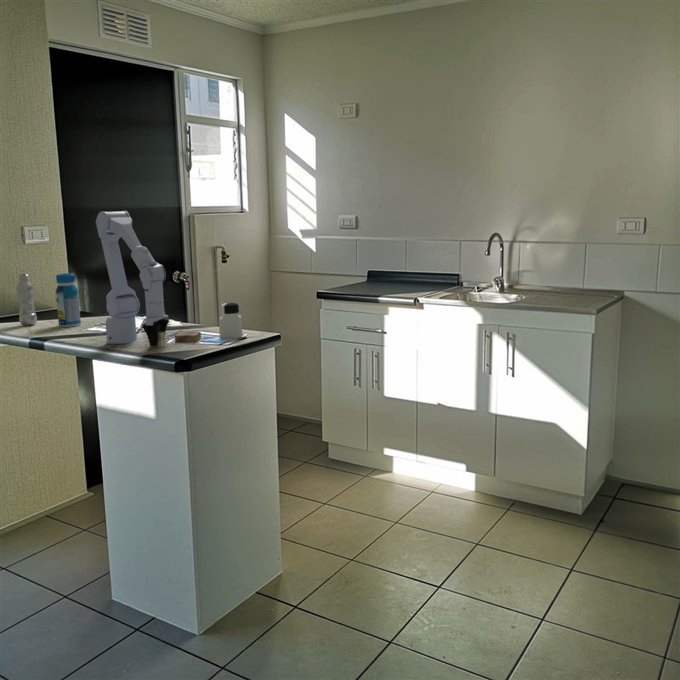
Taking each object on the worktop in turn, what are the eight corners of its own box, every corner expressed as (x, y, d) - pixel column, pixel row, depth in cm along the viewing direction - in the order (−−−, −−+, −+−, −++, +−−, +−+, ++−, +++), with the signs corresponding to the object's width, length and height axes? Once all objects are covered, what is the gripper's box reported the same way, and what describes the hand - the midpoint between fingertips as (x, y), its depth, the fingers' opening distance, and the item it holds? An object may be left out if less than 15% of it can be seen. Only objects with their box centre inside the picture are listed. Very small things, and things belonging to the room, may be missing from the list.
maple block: (149, 349, 234) (148, 334, 233) (153, 346, 238) (152, 331, 237) (161, 349, 234) (160, 333, 233) (165, 346, 237) (164, 331, 237)
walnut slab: (175, 342, 240) (174, 335, 240) (180, 338, 247) (180, 331, 247) (195, 342, 240) (195, 335, 239) (200, 338, 247) (200, 331, 246)
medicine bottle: (242, 335, 255) (241, 301, 253) (240, 339, 248) (238, 304, 246) (222, 335, 255) (220, 302, 252) (219, 339, 248) (217, 305, 245)
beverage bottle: (76, 327, 277) (72, 275, 273) (55, 327, 277) (50, 275, 273) (84, 323, 285) (80, 273, 281) (63, 323, 285) (58, 273, 281)
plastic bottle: (22, 327, 278) (17, 275, 274) (17, 325, 283) (12, 274, 280) (39, 325, 282) (34, 274, 278) (34, 323, 287) (29, 273, 284)
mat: (167, 345, 238) (167, 343, 238) (177, 338, 250) (176, 336, 250) (198, 345, 237) (197, 343, 237) (206, 338, 249) (206, 336, 249)
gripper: (160, 305, 225) (163, 347, 228) (172, 299, 240) (175, 338, 242) (138, 305, 226) (141, 347, 228) (152, 299, 240) (154, 339, 243)
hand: (157, 343), depth 235 cm, fingers open, 7 cm apart
